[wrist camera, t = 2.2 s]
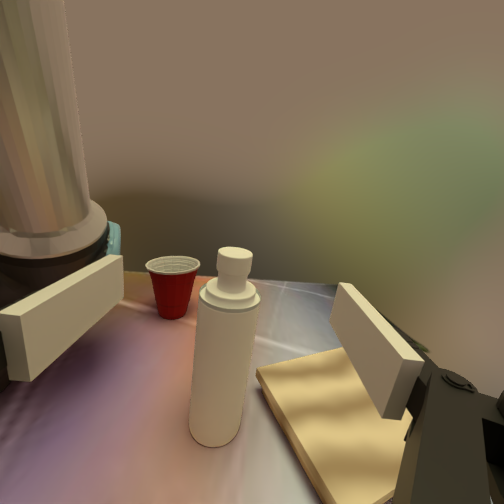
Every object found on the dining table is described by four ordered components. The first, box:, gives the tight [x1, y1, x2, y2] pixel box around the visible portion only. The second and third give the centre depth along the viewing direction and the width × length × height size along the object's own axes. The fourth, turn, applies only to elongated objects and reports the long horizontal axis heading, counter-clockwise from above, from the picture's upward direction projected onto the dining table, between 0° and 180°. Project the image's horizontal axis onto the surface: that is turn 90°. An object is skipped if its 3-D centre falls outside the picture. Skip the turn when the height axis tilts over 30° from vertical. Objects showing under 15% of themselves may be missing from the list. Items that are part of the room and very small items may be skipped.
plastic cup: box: [145, 256, 200, 319], centre depth 52 cm, size 11×11×12 cm
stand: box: [256, 347, 413, 504], centre depth 33 cm, size 18×18×4 cm
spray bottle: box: [189, 247, 261, 447], centre depth 28 cm, size 7×7×25 cm
